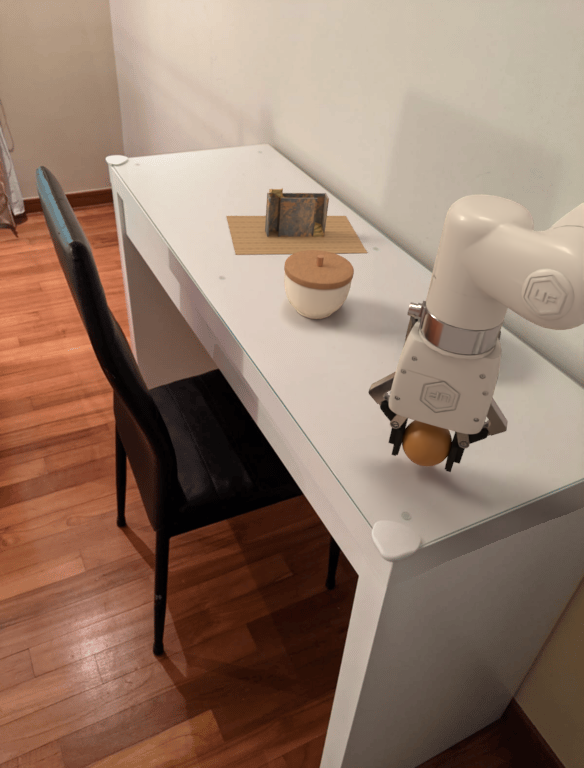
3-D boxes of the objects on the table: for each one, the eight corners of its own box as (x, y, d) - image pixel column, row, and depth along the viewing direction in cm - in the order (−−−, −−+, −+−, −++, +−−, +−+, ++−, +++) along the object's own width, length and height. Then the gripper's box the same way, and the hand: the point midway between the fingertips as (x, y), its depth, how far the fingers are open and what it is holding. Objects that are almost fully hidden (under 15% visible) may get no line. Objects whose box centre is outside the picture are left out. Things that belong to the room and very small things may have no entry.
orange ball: (449, 450, 73) (460, 415, 69) (441, 482, 69) (453, 447, 65) (403, 437, 74) (412, 402, 71) (393, 468, 70) (402, 432, 67)
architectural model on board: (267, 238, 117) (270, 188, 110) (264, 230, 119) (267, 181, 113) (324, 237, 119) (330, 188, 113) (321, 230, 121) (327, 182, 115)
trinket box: (359, 307, 100) (368, 255, 94) (324, 335, 93) (332, 281, 87) (304, 284, 104) (310, 233, 98) (267, 310, 97) (271, 256, 91)
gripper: (365, 323, 59) (343, 455, 70) (549, 369, 55) (494, 501, 66) (383, 288, 65) (360, 415, 76) (551, 327, 61) (500, 455, 72)
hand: (423, 454), depth 71 cm, fingers closed on orange ball, 5 cm apart
